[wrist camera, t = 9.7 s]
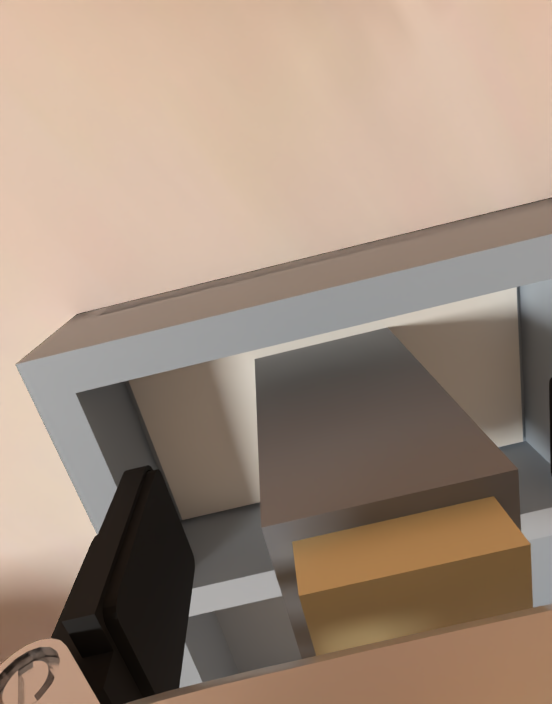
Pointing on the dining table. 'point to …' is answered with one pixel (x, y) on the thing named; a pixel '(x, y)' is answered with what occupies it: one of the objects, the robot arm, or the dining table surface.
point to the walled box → (240, 395)
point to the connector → (381, 497)
